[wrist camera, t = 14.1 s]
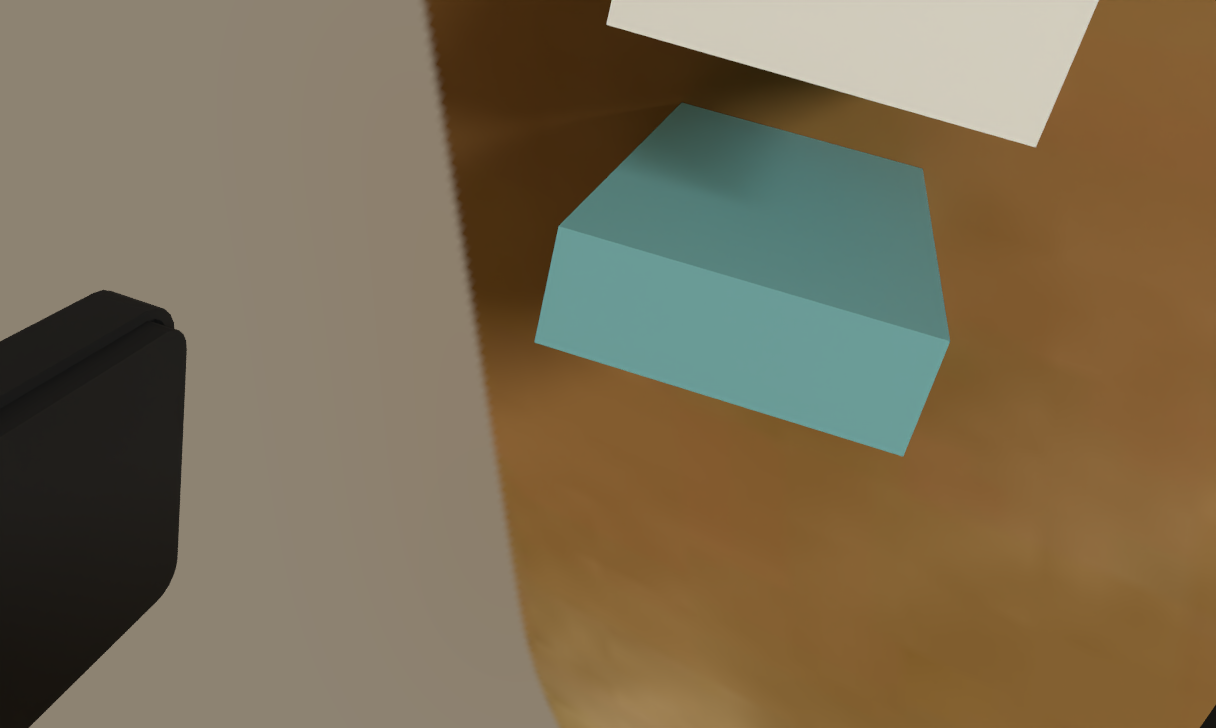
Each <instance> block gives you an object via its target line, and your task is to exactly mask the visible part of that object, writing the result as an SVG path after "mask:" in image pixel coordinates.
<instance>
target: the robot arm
mask: <svg viewBox="0 0 1216 728" xmlns="http://www.w3.org/2000/svg"><path fill="white" fill-rule="evenodd" d="M186 351H187V350H186V340H185V337H184V335H183V334H182V333H181V332H180V331H179V330H175V329H174V322H173V320H172V318H171V315H170V314H169V313H168V312H167V311H166V310H165V309H163V308H160V307H157V306H154V305H151V304H148V303H145V302H142V301H139V300H136V299H133V298H130V297H127V296H124V295H121V294H118V293H115V292H112V291H106V290H102V291H99V292H96V293H93V294H91V295H89V296H87V297H85V298H84V299H81V300H79V301H77V302H75V303H73V304H72V305H70V306H68V307H66V308H64V309H62V310H60V311H58V312H56V313H54V314H52V315H50V316H49V317H47V318H45V319H43V320H41V321H39V322H37V323H35V324H33V325H31V326H29V327H27V328H25V329H24V330H21V331H20V332H18V333H16V334H14V335H12V336H10V337H8V338H6V339H4V340H2V341H0V728H29V727H30V726H31V725H32V724H33V723H34V722H35V721H36V720H37V719H38V718H39V717H40V716H41V715H42V714H43V713H44V712H45V711H46V710H47V709H48V708H49V707H50V706H51V705H52V704H53V703H54V702H55V701H56V700H57V699H58V698H59V697H60V696H61V695H62V694H63V693H64V692H65V691H66V690H67V689H68V688H69V687H70V686H71V685H72V684H73V683H74V682H75V681H76V680H77V679H78V678H79V677H80V676H81V675H83V674H84V673H85V671H87V670H88V669H89V667H91V666H92V665H93V663H95V662H96V661H97V660H98V659H99V658H100V657H101V656H102V655H103V654H104V653H105V652H106V651H107V650H108V649H109V648H110V647H111V646H112V645H113V644H114V643H115V642H116V641H117V640H118V639H119V638H120V637H121V636H122V635H123V634H124V633H125V632H126V631H127V630H128V629H129V628H130V627H131V626H132V625H133V624H134V623H135V622H136V621H137V620H138V619H139V618H140V617H141V616H142V615H143V614H144V613H145V612H146V611H147V610H148V609H149V608H150V607H151V606H152V605H153V604H155V603H156V602H157V600H158V599H159V598H160V597H161V596H162V595H163V593H164V592H165V590H166V589H167V587H168V586H169V584H170V581H171V579H172V577H173V575H174V572H175V568H176V564H177V554H178V553H177V552H178V532H179V509H180V487H181V486H180V485H181V464H182V441H183V419H184V396H185V372H186ZM1200 728H1216V705H1215V707H1214V708H1213V710H1212V711H1211V713H1210V714H1209V715H1208V717H1207V718H1206V720H1205V721H1204V723H1203V724H1202V725H1201V727H1200Z"/></svg>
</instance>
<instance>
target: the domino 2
mask: <svg viewBox="0 0 1216 728" xmlns="http://www.w3.org/2000/svg"><path fill="white" fill-rule="evenodd" d="M535 343H538V344H541V345H544V346H548V347H551V348H554V349H557V350H560V351H564V352H567V353H570V354H573V355H577V356H580V357H583V358H586V359H590V360H593V361H596V362H599V363H603V364H606V365H609V366H612V367H615V368H619V369H622V370H625V371H628V372H632V373H635V374H638V375H641V376H645V377H648V378H651V379H654V380H658V381H661V382H664V383H667V384H670V385H674V386H677V387H680V388H683V389H687V390H690V391H693V392H696V393H700V394H703V395H706V396H709V397H712V398H716V399H719V400H722V401H725V402H729V403H732V404H735V405H738V406H742V407H745V408H748V409H751V410H755V411H758V412H761V413H764V414H767V415H771V416H774V417H777V418H780V419H784V420H787V421H790V422H793V423H797V424H800V425H803V426H806V427H809V428H813V429H816V430H819V431H822V432H826V433H829V434H832V435H835V436H839V437H842V438H845V439H848V440H852V441H855V442H858V443H861V444H864V445H868V446H871V447H874V448H877V449H881V450H884V451H887V452H890V453H894V454H897V455H900V456H904V453H905V451H906V448H907V446H908V443H909V441H910V438H911V436H912V433H913V431H914V429H915V426H916V424H917V421H918V419H919V416H920V414H921V411H922V409H923V406H924V404H925V402H926V399H927V397H928V394H929V392H930V389H931V387H932V384H933V382H934V379H935V377H936V375H937V372H938V370H939V367H940V365H941V362H942V360H943V357H944V355H945V353H946V350H947V348H948V345H949V343H950V338H949V331H948V325H947V319H946V313H945V306H944V300H943V294H942V288H941V281H940V275H939V269H938V263H937V256H936V250H935V244H934V237H933V231H932V225H931V219H930V212H929V206H928V200H927V194H926V187H925V181H924V175H923V169H921V168H918V167H914V166H911V165H907V164H903V163H900V162H896V161H892V160H889V159H885V158H881V157H878V156H874V155H871V154H867V153H863V152H860V151H856V150H852V149H849V148H845V147H842V146H838V145H834V144H831V143H827V142H823V141H820V140H816V139H812V138H809V137H805V136H802V135H798V134H794V133H791V132H787V131H783V130H780V129H776V128H773V127H769V126H765V125H762V124H758V123H754V122H751V121H747V120H743V119H740V118H736V117H733V116H729V115H725V114H722V113H718V112H714V111H711V110H707V109H704V108H700V107H696V106H693V105H689V104H685V103H681V104H680V105H679V106H678V107H677V108H676V109H675V110H674V111H673V112H672V113H671V114H670V115H669V116H668V117H667V118H666V119H665V120H664V121H663V122H662V123H661V124H660V125H659V126H658V127H657V128H656V129H655V130H654V131H653V132H652V133H651V134H650V135H649V136H648V137H647V138H646V139H645V140H644V141H643V142H642V143H641V144H640V145H639V146H638V147H637V148H636V149H635V150H634V151H633V152H632V153H631V154H630V155H629V156H628V157H627V158H626V159H625V160H624V161H623V162H622V163H621V164H620V165H619V166H618V167H617V168H616V169H615V170H614V171H613V172H612V173H611V174H610V175H609V176H608V177H607V178H606V179H605V180H604V181H603V182H602V183H601V184H600V185H599V186H598V187H597V188H596V189H595V190H594V191H593V192H592V193H591V194H590V195H589V196H588V197H587V198H586V199H585V200H584V201H583V202H582V203H581V204H580V205H579V206H578V207H577V208H576V209H575V210H574V211H573V212H572V213H571V214H570V215H569V216H568V217H567V218H566V219H565V220H564V221H563V222H562V223H561V224H560V225H559V226H558V231H557V236H556V241H555V246H554V250H553V255H552V260H551V265H550V270H549V274H548V279H547V284H546V289H545V294H544V298H543V303H542V308H541V313H540V318H539V323H538V327H537V332H536V337H535Z"/></svg>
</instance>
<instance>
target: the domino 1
mask: <svg viewBox="0 0 1216 728" xmlns="http://www.w3.org/2000/svg"><path fill="white" fill-rule="evenodd" d="M1098 1H1099V0H612V1H611V6H610V10H609V15H608V19H607V24H606V25H609V26H612V27H616V28H619V29H623V30H626V31H630V32H633V33H637V34H640V35H644V36H647V37H651V38H654V39H658V40H661V41H665V42H668V43H672V44H675V45H679V46H682V47H686V48H689V49H693V50H696V51H700V52H703V53H707V54H710V55H714V56H717V57H721V58H724V59H728V60H731V61H735V62H738V63H742V64H745V65H749V66H752V67H756V68H759V69H763V70H766V71H770V72H773V73H777V74H780V75H784V76H787V77H791V78H794V79H798V80H801V81H805V82H808V83H812V84H815V85H819V86H822V87H826V88H829V89H833V90H836V91H840V92H843V93H847V94H850V95H854V96H857V97H861V98H864V99H868V100H871V101H875V102H878V103H882V104H885V105H889V106H892V107H896V108H899V109H903V110H906V111H910V112H913V113H917V114H920V115H924V116H927V117H931V118H934V119H938V120H941V121H945V122H948V123H952V124H955V125H959V126H963V127H966V128H970V129H973V130H977V131H980V132H984V133H987V134H991V135H994V136H998V137H1001V138H1005V139H1008V140H1012V141H1015V142H1019V143H1022V144H1026V145H1029V146H1033V147H1036V146H1037V143H1038V141H1039V139H1040V136H1041V134H1042V132H1043V129H1044V127H1045V125H1046V122H1047V120H1048V118H1049V115H1050V113H1051V111H1052V108H1053V106H1054V103H1055V101H1056V99H1057V96H1058V94H1059V92H1060V89H1061V87H1062V85H1063V82H1064V80H1065V78H1066V75H1067V73H1068V71H1069V68H1070V66H1071V64H1072V61H1073V59H1074V57H1075V54H1076V52H1077V50H1078V47H1079V45H1080V43H1081V40H1082V38H1083V36H1084V33H1085V31H1086V29H1087V26H1088V24H1089V22H1090V19H1091V17H1092V15H1093V12H1094V10H1095V8H1096V5H1097V3H1098Z"/></svg>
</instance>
